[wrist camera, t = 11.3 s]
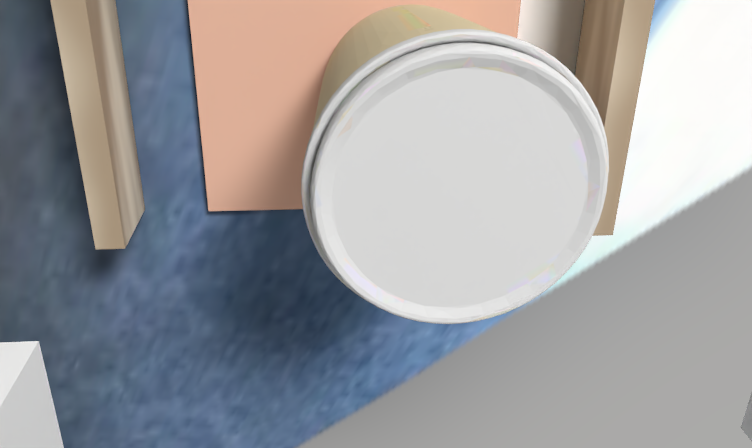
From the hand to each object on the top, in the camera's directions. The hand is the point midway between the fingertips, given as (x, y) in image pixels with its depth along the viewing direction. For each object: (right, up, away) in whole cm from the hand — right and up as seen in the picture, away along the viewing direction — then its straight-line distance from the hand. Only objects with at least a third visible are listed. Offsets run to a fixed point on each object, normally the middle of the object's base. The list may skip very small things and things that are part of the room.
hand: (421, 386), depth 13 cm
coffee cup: (+1, +9, +19) cm, 21 cm away
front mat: (-2, +9, +19) cm, 21 cm away
